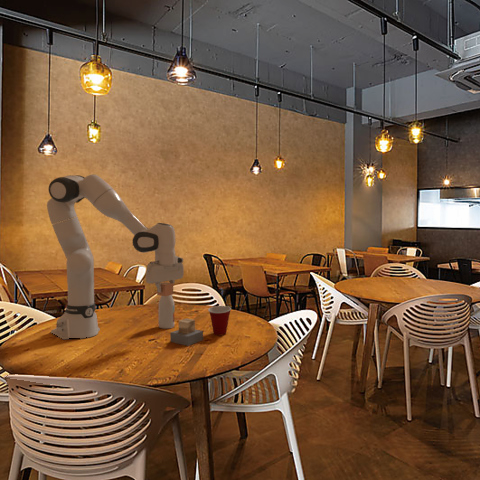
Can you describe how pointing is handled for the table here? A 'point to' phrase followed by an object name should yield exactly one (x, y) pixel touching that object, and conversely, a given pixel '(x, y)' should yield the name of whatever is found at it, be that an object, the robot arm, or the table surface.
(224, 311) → the plastic cup
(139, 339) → the table surface
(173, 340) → the slate base
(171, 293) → the terracotta cube
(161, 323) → the milk bottle
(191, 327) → the maple cube
